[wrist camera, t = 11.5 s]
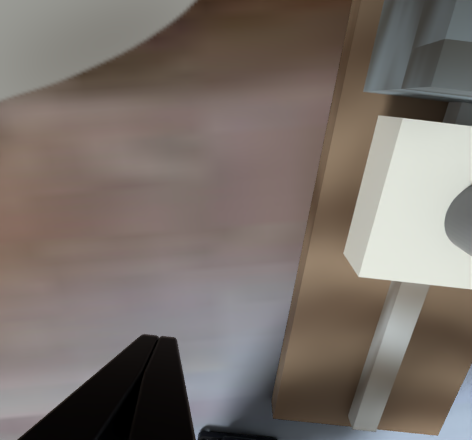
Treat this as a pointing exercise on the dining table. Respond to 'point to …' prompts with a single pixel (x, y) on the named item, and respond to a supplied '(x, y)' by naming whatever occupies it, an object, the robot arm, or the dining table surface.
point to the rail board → (337, 229)
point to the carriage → (415, 205)
